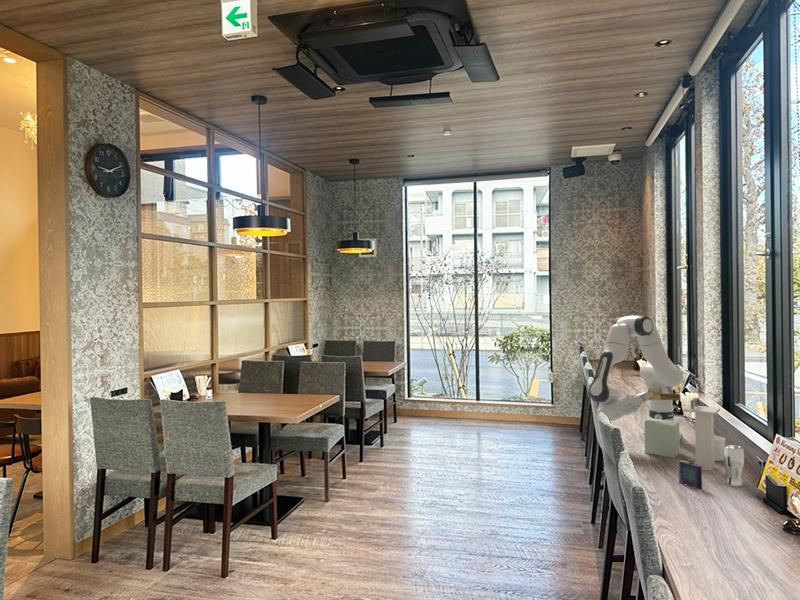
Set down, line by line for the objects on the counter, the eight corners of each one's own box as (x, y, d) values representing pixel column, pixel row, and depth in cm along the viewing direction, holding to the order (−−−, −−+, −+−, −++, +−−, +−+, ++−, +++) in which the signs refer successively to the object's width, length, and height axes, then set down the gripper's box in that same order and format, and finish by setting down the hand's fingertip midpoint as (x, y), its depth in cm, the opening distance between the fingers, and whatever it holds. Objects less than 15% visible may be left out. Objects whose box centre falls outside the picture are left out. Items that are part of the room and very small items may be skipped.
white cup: (703, 459, 243) (703, 437, 243) (707, 455, 248) (707, 434, 249) (723, 462, 237) (723, 440, 237) (727, 458, 243) (726, 437, 243)
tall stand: (690, 461, 239) (689, 396, 239) (720, 467, 231) (720, 399, 231) (684, 468, 230) (683, 400, 230) (715, 473, 222) (714, 403, 222)
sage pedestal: (650, 448, 261) (650, 418, 261) (679, 453, 253) (679, 422, 253) (644, 452, 253) (644, 421, 254) (674, 457, 245) (674, 425, 245)
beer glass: (726, 480, 214) (725, 443, 214) (746, 484, 209) (745, 446, 209) (721, 484, 209) (721, 446, 209) (741, 488, 204) (741, 450, 204)
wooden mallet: (651, 398, 255) (650, 388, 255) (681, 398, 247) (680, 388, 247) (648, 399, 251) (647, 389, 252) (678, 400, 243) (677, 389, 243)
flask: (677, 482, 212) (677, 456, 212) (682, 481, 213) (682, 455, 213) (699, 489, 204) (699, 462, 204) (704, 488, 205) (704, 461, 205)
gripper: (619, 401, 253) (645, 389, 245) (632, 395, 268) (657, 384, 261) (626, 413, 251) (652, 401, 243) (638, 406, 266) (664, 395, 259)
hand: (655, 392), depth 252 cm, fingers closed on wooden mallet, 5 cm apart
